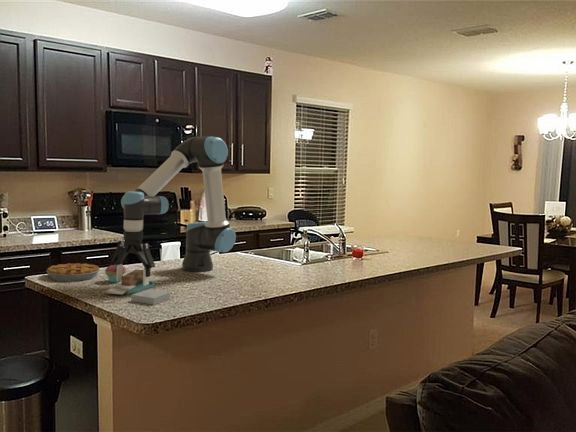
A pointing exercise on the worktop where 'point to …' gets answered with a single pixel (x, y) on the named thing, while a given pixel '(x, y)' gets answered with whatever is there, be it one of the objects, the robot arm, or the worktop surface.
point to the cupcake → (113, 273)
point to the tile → (150, 296)
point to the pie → (72, 272)
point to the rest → (140, 287)
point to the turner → (127, 282)
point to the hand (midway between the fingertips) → (132, 282)
